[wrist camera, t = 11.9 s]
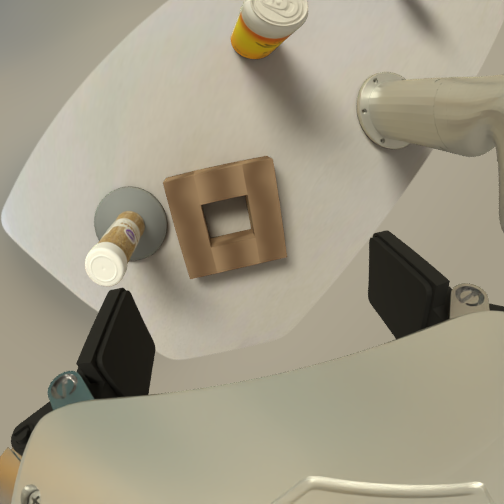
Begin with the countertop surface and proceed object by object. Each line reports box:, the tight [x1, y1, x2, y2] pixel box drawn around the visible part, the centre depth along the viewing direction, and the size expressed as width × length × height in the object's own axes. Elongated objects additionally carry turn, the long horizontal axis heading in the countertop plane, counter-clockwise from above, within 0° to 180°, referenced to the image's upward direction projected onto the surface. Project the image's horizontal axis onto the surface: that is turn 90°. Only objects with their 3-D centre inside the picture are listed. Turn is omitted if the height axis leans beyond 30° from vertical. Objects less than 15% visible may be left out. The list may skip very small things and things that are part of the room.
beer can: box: [231, 0, 308, 59], centre depth 26 cm, size 6×6×15 cm
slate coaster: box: [94, 187, 167, 260], centre depth 40 cm, size 11×11×1 cm
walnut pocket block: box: [163, 156, 287, 279], centre depth 41 cm, size 14×14×4 cm
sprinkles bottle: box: [85, 211, 145, 287], centre depth 34 cm, size 5×5×14 cm
